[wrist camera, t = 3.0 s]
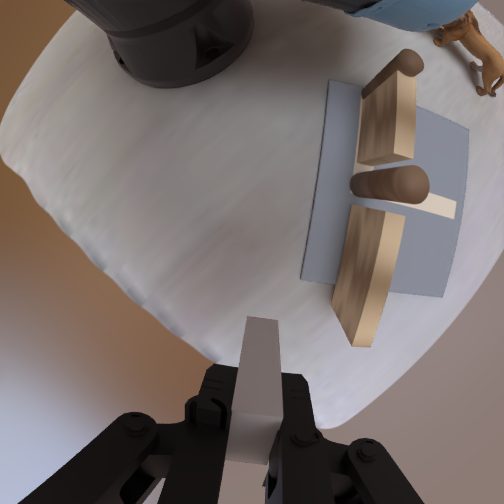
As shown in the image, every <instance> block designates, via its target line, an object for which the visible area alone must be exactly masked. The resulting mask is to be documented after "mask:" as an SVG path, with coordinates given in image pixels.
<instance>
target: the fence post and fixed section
mask: <svg viewBox="0 0 504 504" xmlns="http://www.w3.org/2000/svg"><path fill="white" fill-rule="evenodd" d="M423 69H424V63H423V60H422V59H421V57H420V56H419V55H418V54H417V53H416V52H415V51H413V50H411V49H403V50H402V51H401V52H400V53H399V54H398V55H397V56H396V57H395V58H394V59H393V60H392V61H390V62H389V63H388V64H387V65H386V66H385V67H384V68H383V69H382V70H381V71H380V72H379V73H378V74H377V75H376V76H375V77H374V78H373V79H372V80H371V81H370V82H369V83H368V84H367V85H366V86H365V87H364V88H363V89H362V91H361V96H362V99H363V102H362V116H361V127H360V137H359V147H358V156H357V163H360V164H364V165H368V166H377V165H382V164H388V163H393V162H399V161H405V160H411V159H413V157H414V145H415V129H416V77H414V76H416V75H417V74H419V73H420V72H421V71H423ZM350 189H351V191H352V193H353V194H354V195H355V196H357V197H361V198H370V199H378V200H386V201H393V202H400V203H407V204H420V203H422V202H423V201H424V200H425V199H426V198H427V196H428V194H429V190H430V183H429V179H428V176H427V174H426V173H425V171H424V170H423V169H422V168H420V167H419V166H416V165H408V166H400V167H393V168H386V169H379V170H372V171H366V172H359V173H356V174H355V175H353V176H352V178H351V180H350Z"/></svg>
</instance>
